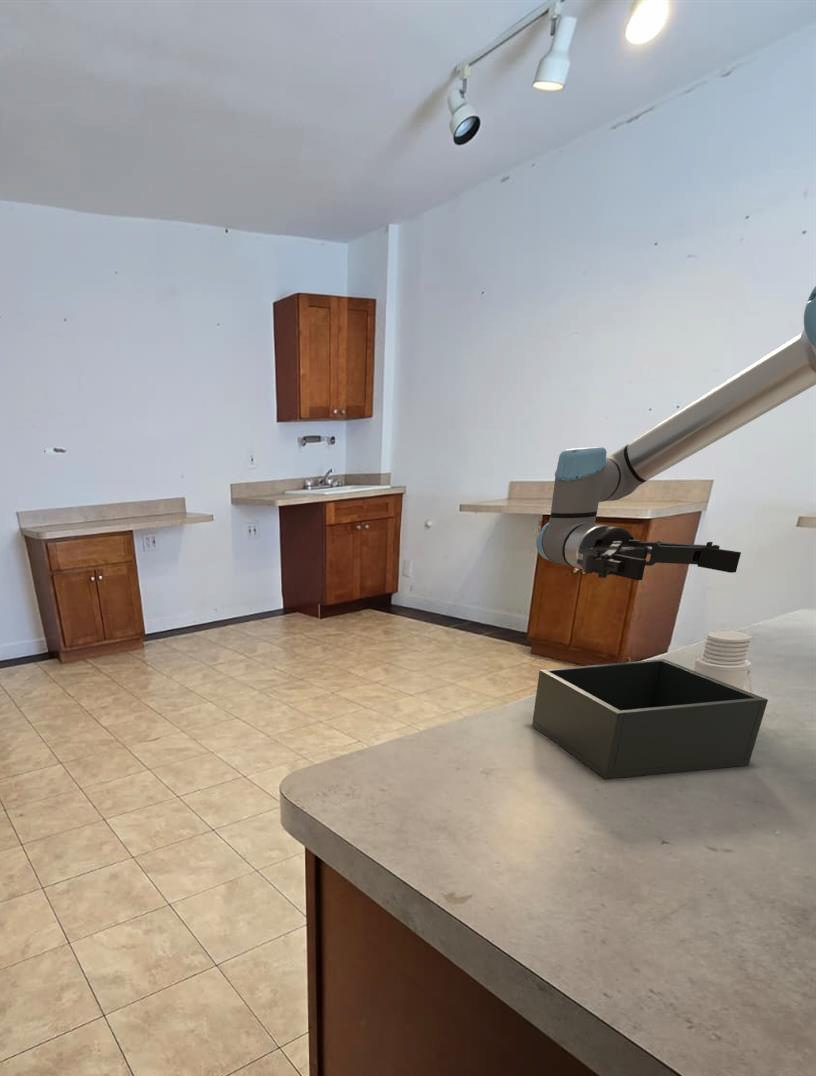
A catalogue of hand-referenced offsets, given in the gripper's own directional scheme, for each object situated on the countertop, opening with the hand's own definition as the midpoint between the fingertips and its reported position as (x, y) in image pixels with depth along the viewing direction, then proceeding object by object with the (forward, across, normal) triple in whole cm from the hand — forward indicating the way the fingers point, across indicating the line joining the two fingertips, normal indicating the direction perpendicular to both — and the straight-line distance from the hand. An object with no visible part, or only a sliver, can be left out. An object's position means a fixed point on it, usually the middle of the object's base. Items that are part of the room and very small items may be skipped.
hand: (689, 566), depth 88 cm
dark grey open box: (+19, +17, -17) cm, 31 cm away
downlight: (+10, 0, -18) cm, 20 cm away
